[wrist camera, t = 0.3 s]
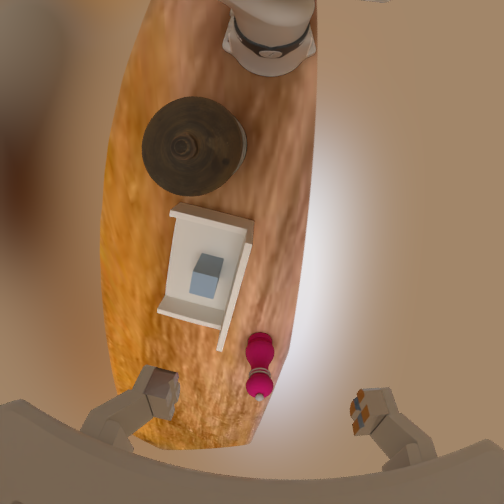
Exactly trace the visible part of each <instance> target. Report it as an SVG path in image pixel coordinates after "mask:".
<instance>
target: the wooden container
mask: <svg viewBox="0 0 504 504" xmlns="http://www.w3.org/2000/svg"><path fill="white" fill-rule="evenodd" d="M246 152H247V138H246V134H245V131H244V129H243V127H242V126H241V124H240V123H239V121H238V120H237V119H236V118H235V117H234V116H233V115H232V114H231V113H230V112H229V111H228V110H227V109H226V108H225V107H223V106H222V105H221V104H219V103H217V102H215V101H213V100H210V99H207V98H203V97H184V98H180V99H177V100H175V101H172V102H170V103H169V104H167V105H165V106H164V107H162V108H161V109H160V110H159V111H158V112H157V113H156V114H155V115H154V116H153V118H152V119H151V120H150V122H149V124H148V126H147V128H146V130H145V133H144V136H143V141H142V157H143V161H144V165H145V167H146V169H147V171H148V173H149V175H150V176H151V178H152V179H153V180H154V181H155V182H156V183H157V184H158V185H159V186H160V187H162V188H163V189H165V190H167V191H168V192H171V193H173V194H176V195H180V196H200V195H204V194H207V193H209V192H212V191H214V190H216V189H217V188H219V187H220V186H222V185H223V184H224V183H225V182H226V181H227V180H228V179H229V178H230V177H231V176H232V175H233V174H234V173H235V172H236V171H237V170H238V168H239V167H240V166H241V164H242V162H243V160H244V158H245V156H246Z"/></svg>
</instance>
